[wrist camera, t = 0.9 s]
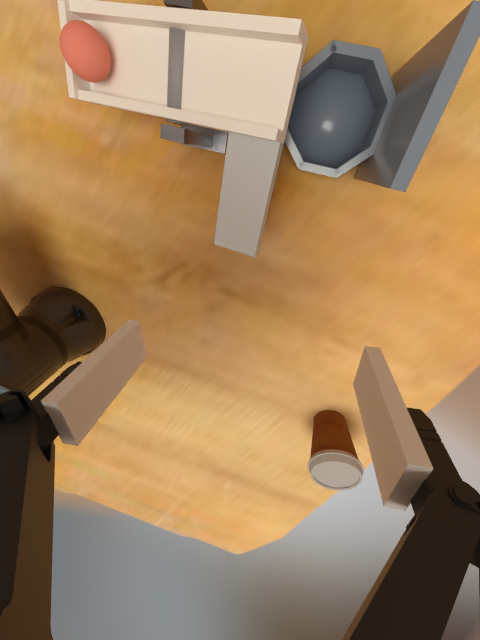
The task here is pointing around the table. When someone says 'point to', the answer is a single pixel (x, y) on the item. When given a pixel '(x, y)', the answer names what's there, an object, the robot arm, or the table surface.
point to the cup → (376, 105)
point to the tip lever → (204, 90)
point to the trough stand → (191, 133)
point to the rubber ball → (85, 51)
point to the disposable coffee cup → (333, 453)
